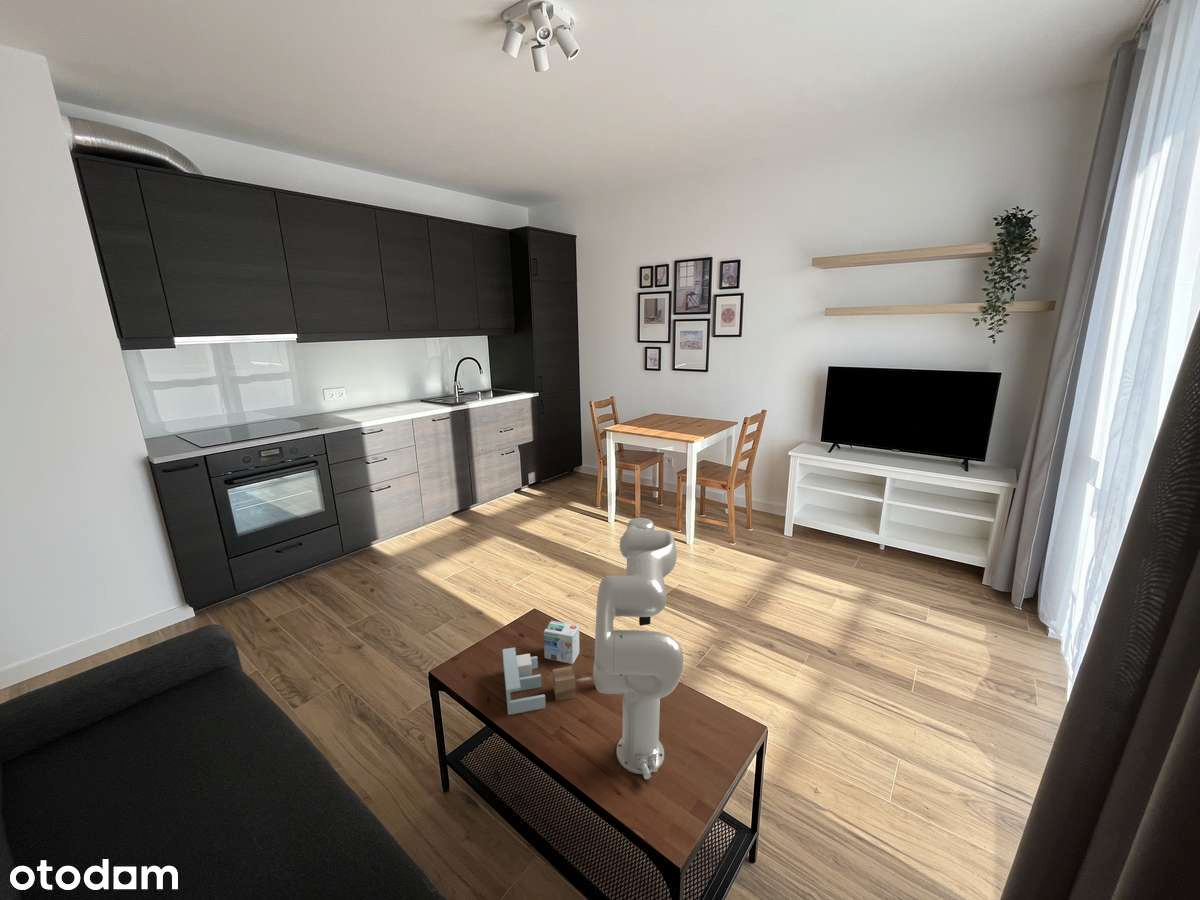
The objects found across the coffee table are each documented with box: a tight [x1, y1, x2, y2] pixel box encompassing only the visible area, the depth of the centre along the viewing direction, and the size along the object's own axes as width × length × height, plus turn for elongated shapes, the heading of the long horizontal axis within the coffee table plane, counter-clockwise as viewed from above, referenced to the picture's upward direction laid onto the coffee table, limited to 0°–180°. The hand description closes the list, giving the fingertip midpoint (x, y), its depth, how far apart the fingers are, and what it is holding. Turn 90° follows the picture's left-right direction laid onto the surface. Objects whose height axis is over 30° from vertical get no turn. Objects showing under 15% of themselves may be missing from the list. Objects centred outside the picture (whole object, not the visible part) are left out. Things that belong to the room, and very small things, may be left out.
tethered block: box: [552, 665, 594, 702], centre depth 154 cm, size 6×16×7 cm, turn 105°
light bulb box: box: [543, 620, 580, 665], centre depth 170 cm, size 11×7×11 cm, turn 73°
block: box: [516, 653, 533, 678], centre depth 159 cm, size 6×6×7 cm
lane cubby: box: [502, 647, 547, 716], centre depth 154 cm, size 19×11×9 cm, turn 14°
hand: (639, 614), depth 145 cm, fingers open, 9 cm apart
